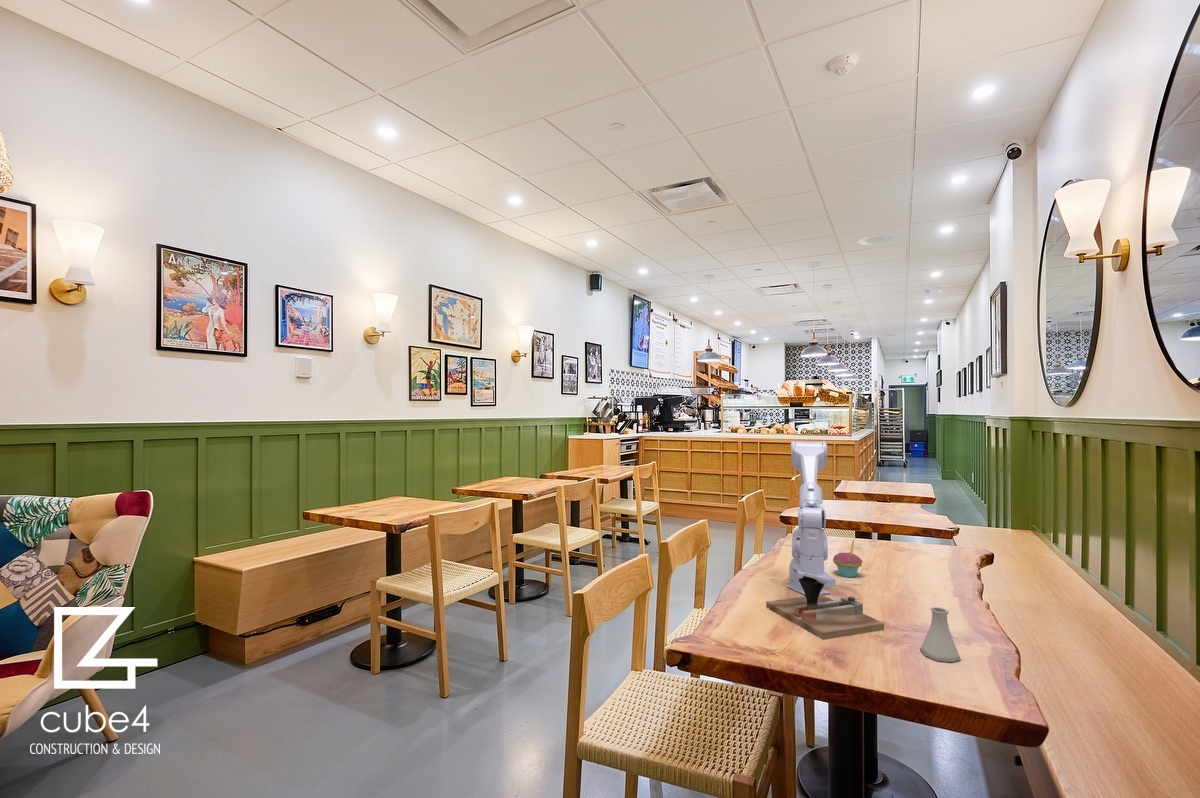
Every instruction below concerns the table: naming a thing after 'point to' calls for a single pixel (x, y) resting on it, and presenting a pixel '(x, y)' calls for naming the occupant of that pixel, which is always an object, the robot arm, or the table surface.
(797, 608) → the tong arm
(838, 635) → the tongs board
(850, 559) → the cupcake
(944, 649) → the flask
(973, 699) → the table surface
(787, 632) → the table surface
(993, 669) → the table surface
